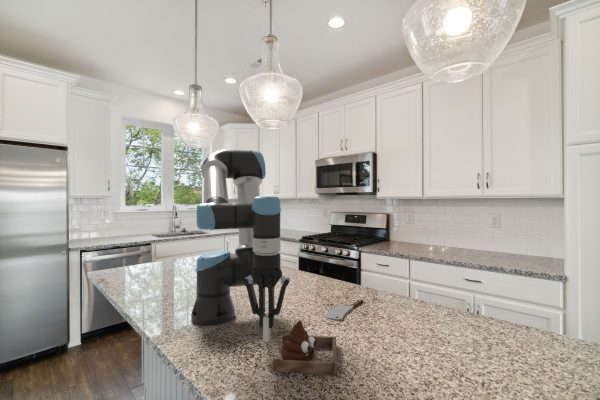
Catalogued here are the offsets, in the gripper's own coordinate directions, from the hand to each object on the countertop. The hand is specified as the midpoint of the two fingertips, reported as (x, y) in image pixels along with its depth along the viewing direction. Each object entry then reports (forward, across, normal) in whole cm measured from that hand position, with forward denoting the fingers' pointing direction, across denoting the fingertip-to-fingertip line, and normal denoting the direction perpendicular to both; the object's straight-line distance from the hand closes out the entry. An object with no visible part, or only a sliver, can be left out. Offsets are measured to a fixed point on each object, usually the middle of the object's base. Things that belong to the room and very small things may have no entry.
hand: (266, 339), depth 80 cm
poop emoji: (+4, +9, 0) cm, 10 cm away
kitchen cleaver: (+5, +23, +36) cm, 43 cm away
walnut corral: (+4, +11, -1) cm, 12 cm away
